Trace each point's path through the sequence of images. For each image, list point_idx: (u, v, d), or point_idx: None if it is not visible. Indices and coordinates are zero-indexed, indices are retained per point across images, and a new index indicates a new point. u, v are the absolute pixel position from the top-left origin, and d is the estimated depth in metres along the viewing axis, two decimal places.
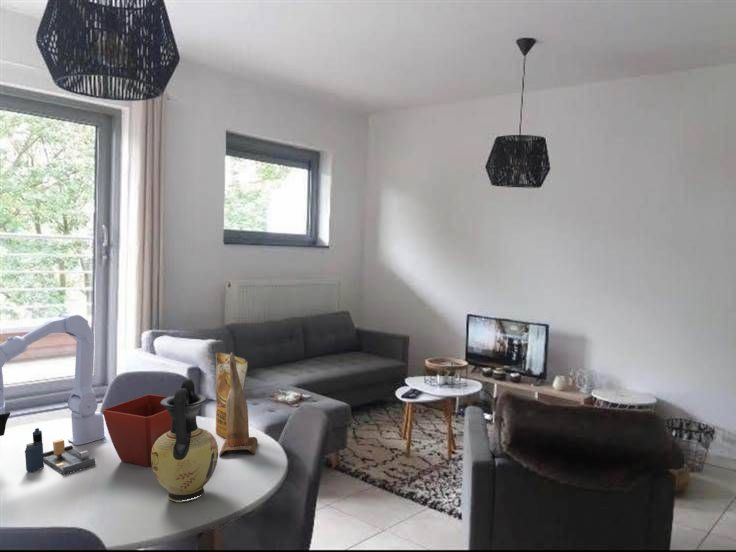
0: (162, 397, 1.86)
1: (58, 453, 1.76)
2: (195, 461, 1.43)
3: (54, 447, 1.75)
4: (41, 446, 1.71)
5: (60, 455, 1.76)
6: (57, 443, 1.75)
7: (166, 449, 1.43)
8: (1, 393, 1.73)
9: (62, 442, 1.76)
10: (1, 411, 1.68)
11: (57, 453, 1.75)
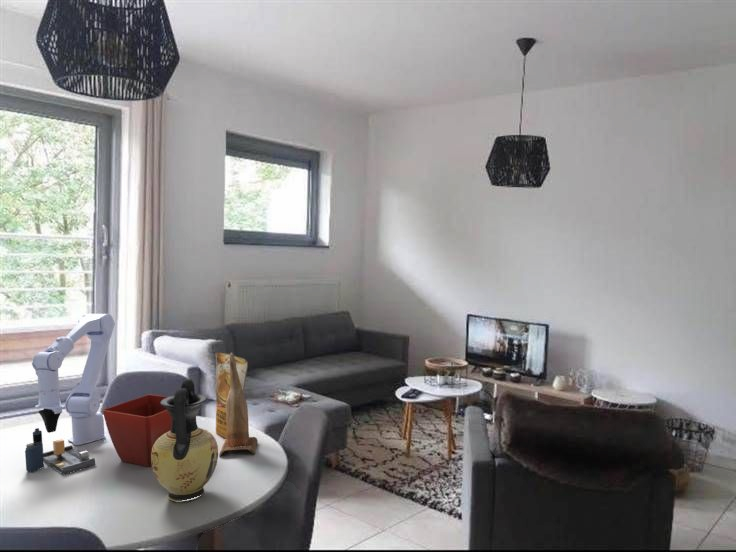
0: (162, 397, 1.86)
1: (58, 453, 1.76)
2: (195, 461, 1.43)
3: (54, 447, 1.75)
4: (41, 446, 1.71)
5: (60, 455, 1.76)
6: (57, 443, 1.75)
7: (166, 449, 1.43)
8: (57, 393, 1.79)
9: (62, 442, 1.76)
10: (58, 410, 1.74)
11: (57, 453, 1.75)
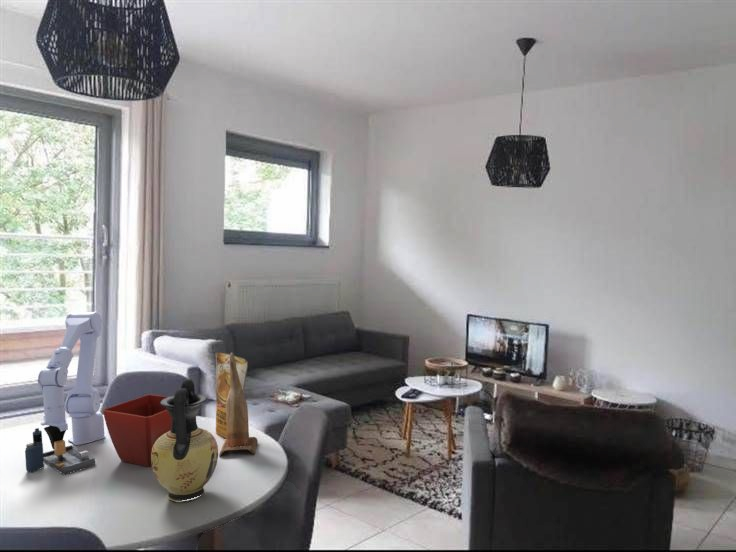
0: (162, 397, 1.86)
1: (59, 454, 1.75)
2: (195, 461, 1.43)
3: (55, 448, 1.75)
4: (41, 446, 1.71)
5: (61, 456, 1.76)
6: (58, 444, 1.75)
7: (166, 449, 1.43)
8: (63, 409, 1.76)
9: (63, 443, 1.76)
10: (64, 427, 1.72)
11: (58, 454, 1.75)
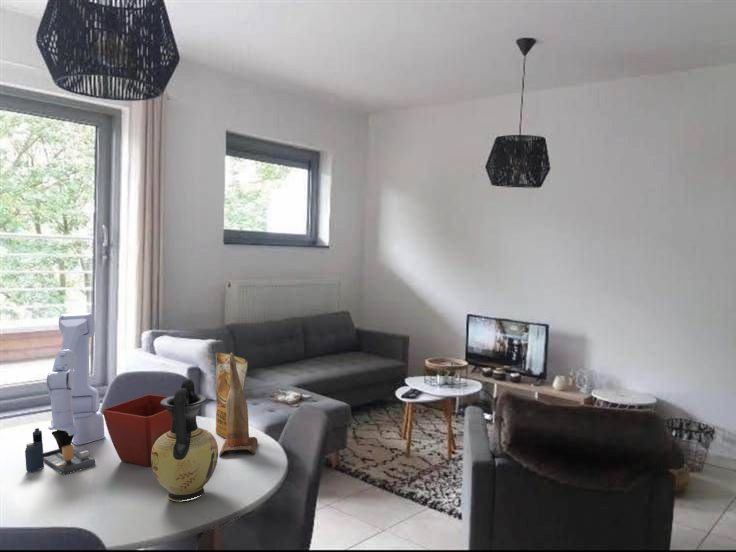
0: (162, 397, 1.86)
1: (67, 459, 1.71)
2: (195, 461, 1.43)
3: (63, 452, 1.71)
4: (41, 446, 1.71)
5: (69, 461, 1.71)
6: (66, 448, 1.71)
7: (166, 449, 1.43)
8: (71, 413, 1.72)
9: (71, 447, 1.72)
10: (72, 432, 1.68)
11: (66, 459, 1.71)
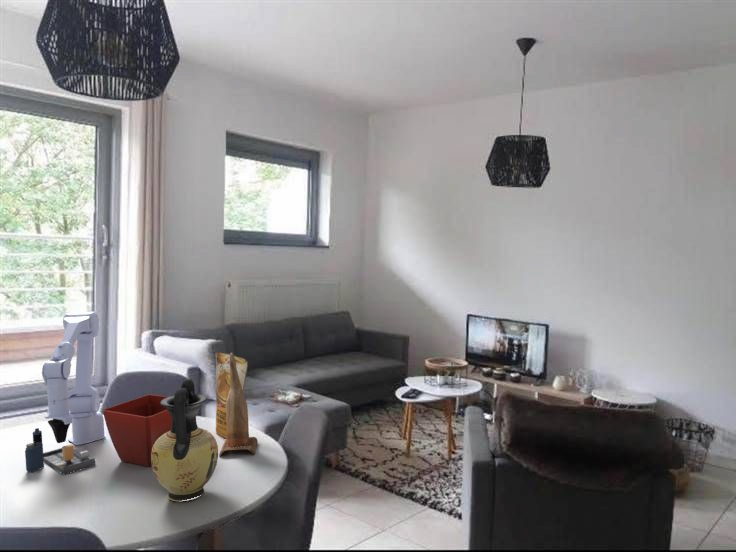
0: (162, 397, 1.86)
1: (67, 459, 1.71)
2: (195, 461, 1.43)
3: (63, 452, 1.71)
4: (41, 446, 1.71)
5: (69, 461, 1.71)
6: (66, 448, 1.70)
7: (166, 449, 1.43)
8: (67, 402, 1.74)
9: (71, 447, 1.72)
10: (68, 420, 1.70)
11: (66, 459, 1.71)
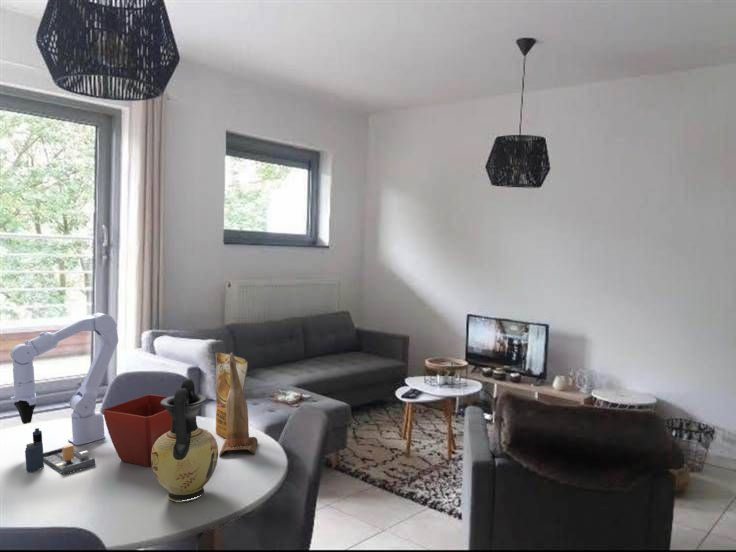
0: (162, 397, 1.86)
1: (67, 459, 1.71)
2: (195, 461, 1.43)
3: (63, 452, 1.71)
4: (41, 446, 1.71)
5: (69, 461, 1.71)
6: (66, 448, 1.70)
7: (166, 449, 1.43)
8: (32, 385, 1.82)
9: (71, 447, 1.72)
10: (33, 401, 1.78)
11: (66, 459, 1.71)
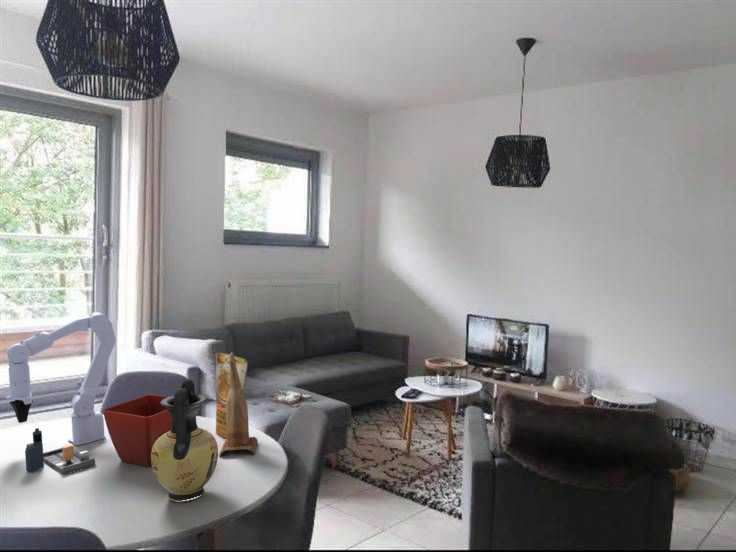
0: (162, 397, 1.86)
1: (67, 459, 1.71)
2: (195, 461, 1.43)
3: (63, 452, 1.71)
4: (41, 446, 1.71)
5: (69, 461, 1.71)
6: (66, 448, 1.70)
7: (166, 449, 1.43)
8: (28, 384, 1.83)
9: (71, 447, 1.72)
10: (28, 401, 1.79)
11: (66, 459, 1.71)
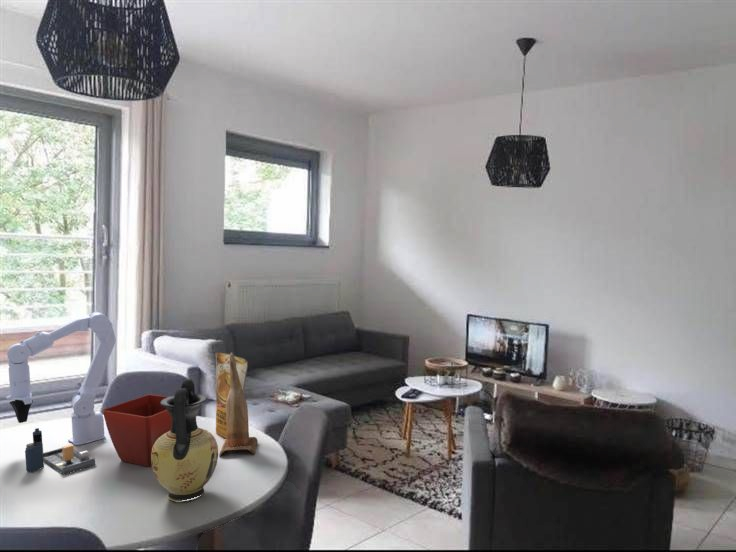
0: (162, 397, 1.86)
1: (67, 459, 1.71)
2: (195, 461, 1.43)
3: (63, 452, 1.71)
4: (41, 446, 1.71)
5: (69, 461, 1.71)
6: (66, 448, 1.70)
7: (166, 449, 1.43)
8: (28, 384, 1.83)
9: (71, 447, 1.72)
10: (28, 401, 1.79)
11: (66, 459, 1.71)
